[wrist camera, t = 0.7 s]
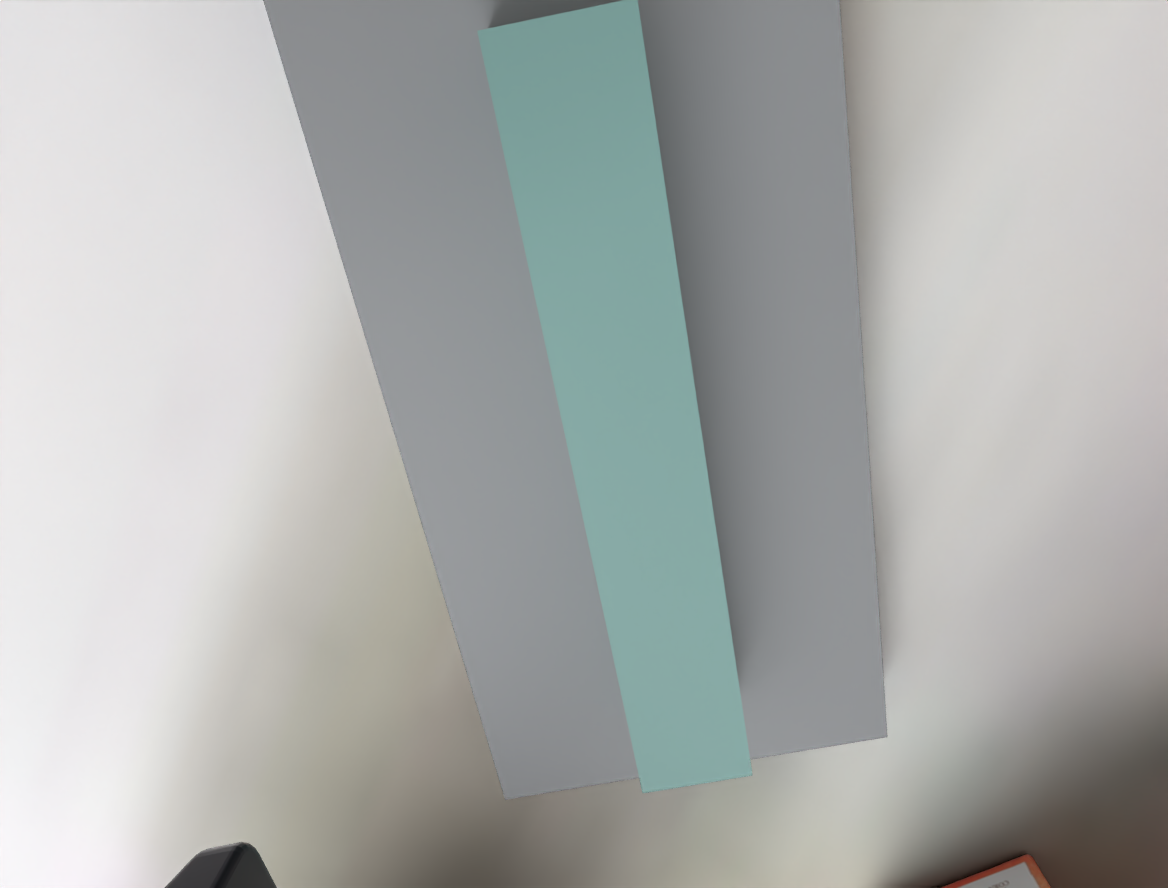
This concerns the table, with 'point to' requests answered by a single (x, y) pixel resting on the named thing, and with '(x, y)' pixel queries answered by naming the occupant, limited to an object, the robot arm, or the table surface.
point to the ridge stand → (615, 362)
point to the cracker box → (1006, 876)
